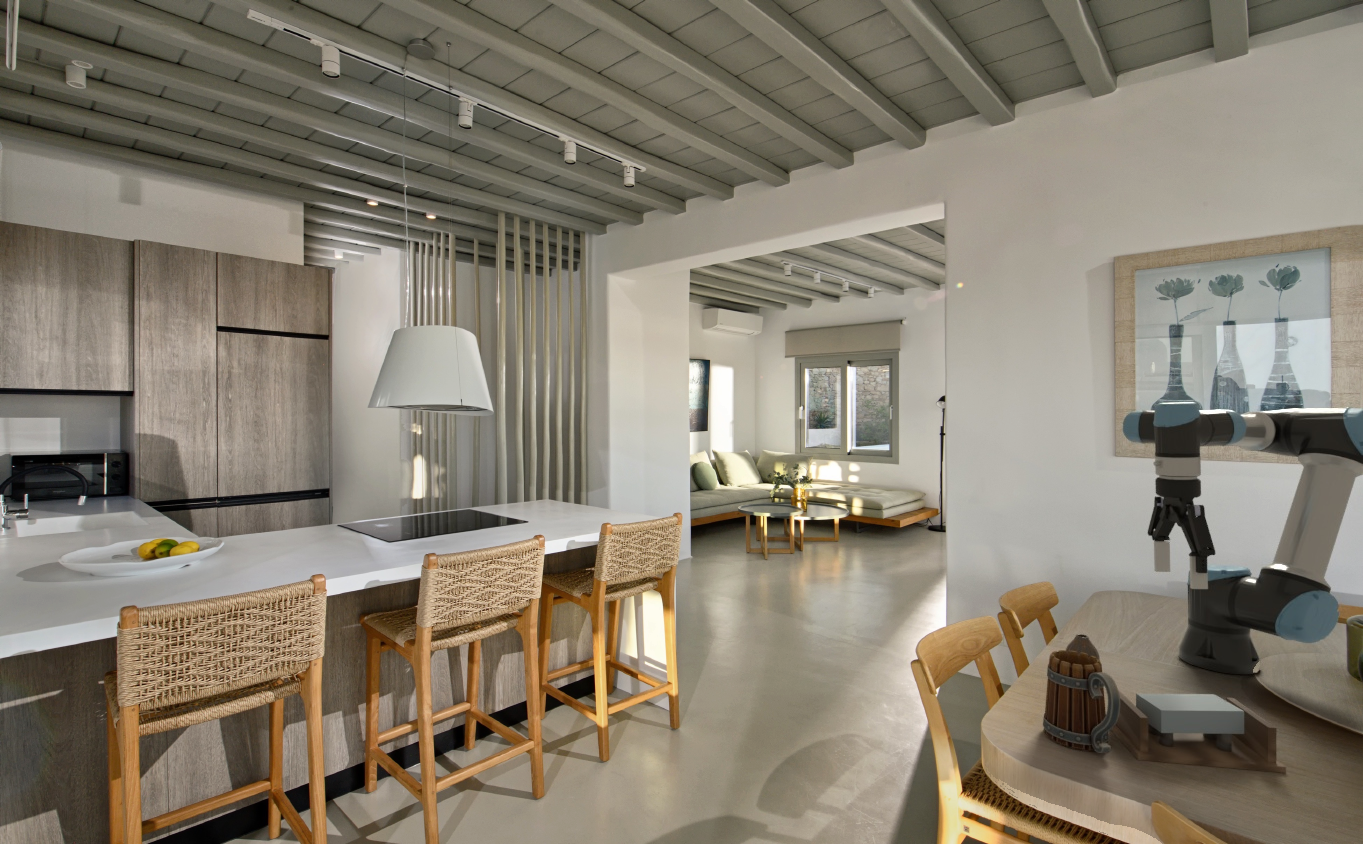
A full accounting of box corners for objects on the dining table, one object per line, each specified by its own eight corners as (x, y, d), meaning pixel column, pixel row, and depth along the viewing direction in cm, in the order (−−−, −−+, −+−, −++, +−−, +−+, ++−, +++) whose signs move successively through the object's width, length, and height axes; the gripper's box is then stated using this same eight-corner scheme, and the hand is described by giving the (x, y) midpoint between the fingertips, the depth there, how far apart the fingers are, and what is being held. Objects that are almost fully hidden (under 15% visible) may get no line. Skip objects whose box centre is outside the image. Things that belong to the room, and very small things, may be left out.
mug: (1030, 726, 128) (1030, 648, 128) (1082, 723, 129) (1082, 646, 129) (1086, 769, 113) (1086, 681, 112) (1145, 766, 114) (1145, 678, 113)
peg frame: (1235, 733, 125) (1235, 696, 125) (1285, 773, 111) (1286, 731, 111) (1104, 722, 129) (1104, 687, 129) (1137, 759, 116) (1137, 719, 115)
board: (1213, 715, 123) (1213, 694, 123) (1244, 733, 116) (1244, 711, 116) (1136, 714, 124) (1136, 693, 124) (1161, 732, 117) (1161, 710, 117)
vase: (1105, 680, 150) (1105, 641, 149) (1071, 678, 151) (1071, 639, 151) (1092, 668, 156) (1092, 631, 156) (1060, 666, 158) (1060, 630, 158)
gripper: (1128, 471, 150) (1130, 565, 150) (1191, 484, 126) (1194, 596, 126) (1165, 470, 149) (1167, 565, 149) (1237, 484, 124) (1239, 597, 125)
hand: (1179, 579), depth 138 cm, fingers open, 13 cm apart
